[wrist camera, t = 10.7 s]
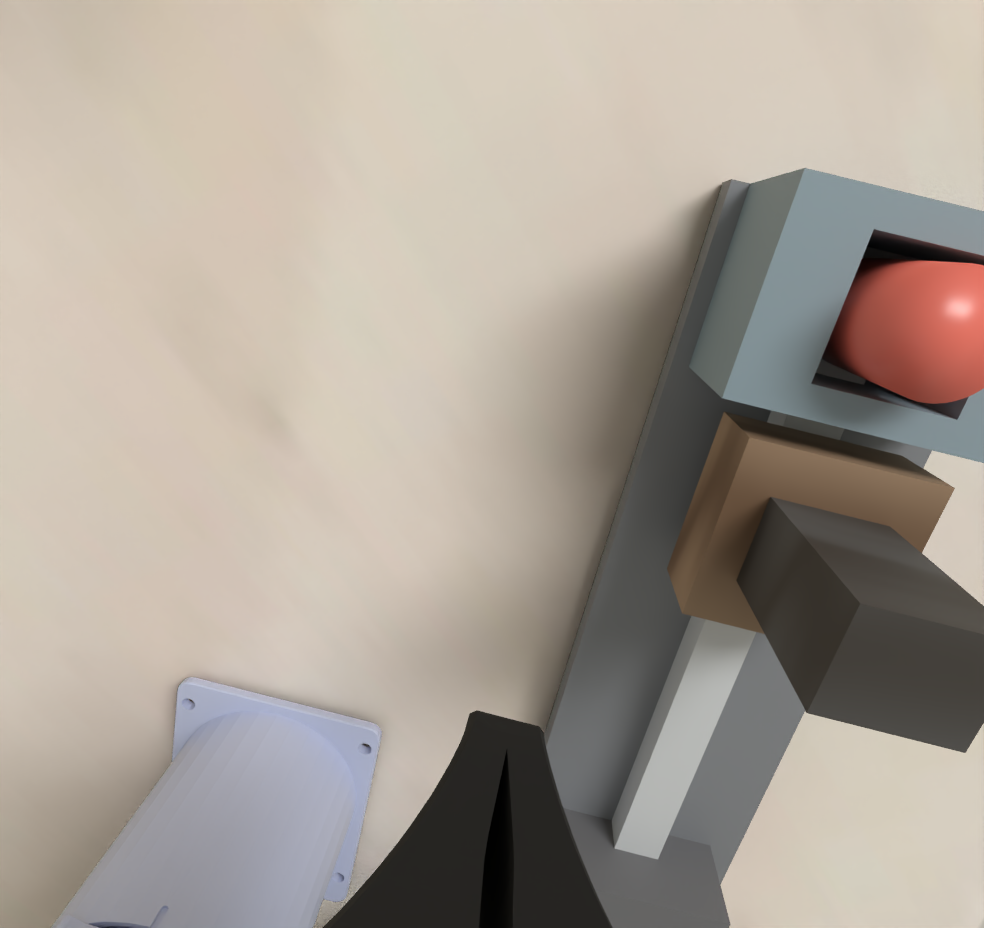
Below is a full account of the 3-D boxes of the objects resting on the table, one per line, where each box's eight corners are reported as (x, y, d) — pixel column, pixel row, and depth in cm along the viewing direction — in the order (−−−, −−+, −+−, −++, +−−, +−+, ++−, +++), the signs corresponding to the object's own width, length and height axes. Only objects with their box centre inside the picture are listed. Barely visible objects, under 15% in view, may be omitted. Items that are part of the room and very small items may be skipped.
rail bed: (712, 865, 26) (746, 1003, 21) (517, 816, 26) (509, 942, 22) (1004, 250, 18) (1161, 255, 13) (722, 182, 18) (781, 162, 13)
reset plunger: (890, 379, 17) (983, 417, 14) (787, 354, 17) (851, 385, 14) (938, 272, 16) (1052, 282, 13) (829, 245, 16) (910, 247, 13)
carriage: (829, 609, 20) (984, 817, 12) (667, 568, 20) (729, 753, 13) (902, 455, 18) (1128, 596, 11) (724, 411, 18) (833, 522, 11)
